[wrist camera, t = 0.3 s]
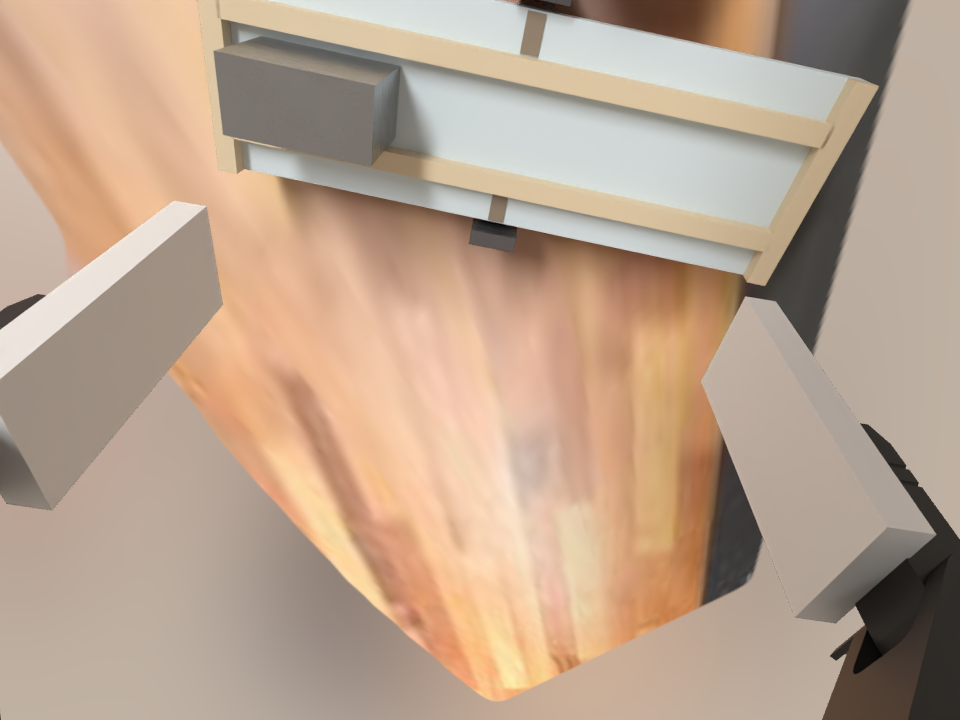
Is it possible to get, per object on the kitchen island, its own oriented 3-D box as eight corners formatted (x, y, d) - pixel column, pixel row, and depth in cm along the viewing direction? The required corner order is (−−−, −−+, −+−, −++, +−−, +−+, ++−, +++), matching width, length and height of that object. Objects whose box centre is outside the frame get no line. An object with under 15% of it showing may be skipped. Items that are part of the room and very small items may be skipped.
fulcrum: (517, -35, 32) (516, -30, 27) (568, -24, 32) (575, -17, 27) (475, 208, 41) (468, 244, 36) (514, 216, 41) (513, 252, 36)
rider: (262, 35, 31) (213, 50, 27) (400, 65, 31) (374, 85, 27) (266, 110, 33) (223, 135, 29) (395, 138, 33) (370, 166, 29)
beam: (211, -64, 29) (189, -64, 28) (860, 78, 30) (879, 86, 28) (234, 159, 37) (218, 169, 35) (755, 270, 37) (765, 286, 35)
